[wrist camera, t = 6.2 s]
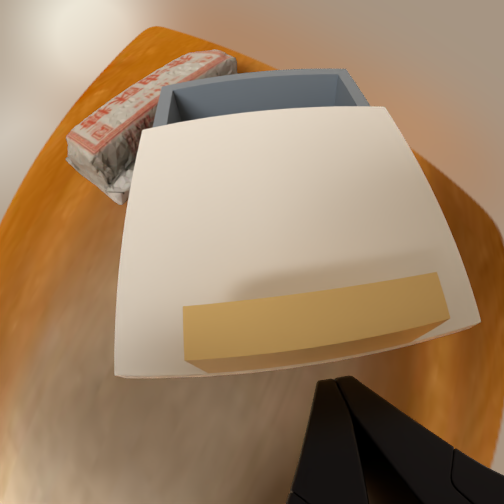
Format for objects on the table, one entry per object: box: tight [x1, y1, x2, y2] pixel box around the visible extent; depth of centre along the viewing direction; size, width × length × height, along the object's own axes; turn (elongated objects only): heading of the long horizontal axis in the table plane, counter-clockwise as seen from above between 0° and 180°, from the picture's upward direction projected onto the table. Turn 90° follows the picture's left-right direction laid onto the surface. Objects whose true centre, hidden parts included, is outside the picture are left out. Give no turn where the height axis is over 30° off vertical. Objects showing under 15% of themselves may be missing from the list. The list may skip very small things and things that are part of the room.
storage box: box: [153, 69, 370, 127], centre depth 18 cm, size 11×12×7 cm
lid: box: [114, 106, 481, 378], centre depth 10 cm, size 11×12×3 cm
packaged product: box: [66, 50, 239, 205], centre depth 25 cm, size 18×5×10 cm
